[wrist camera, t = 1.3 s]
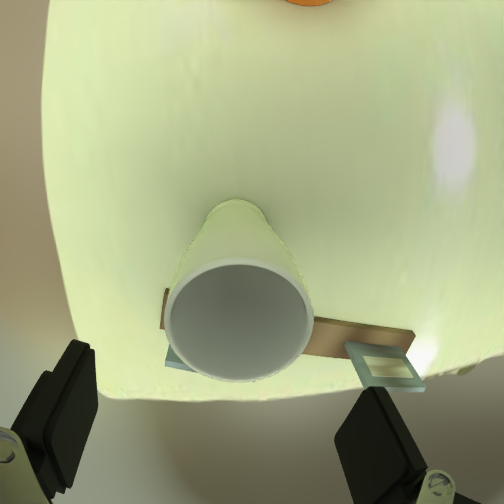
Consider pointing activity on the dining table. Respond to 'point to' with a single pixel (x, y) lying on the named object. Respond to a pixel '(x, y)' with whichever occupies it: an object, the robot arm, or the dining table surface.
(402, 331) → the stand
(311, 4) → the shaker bottle
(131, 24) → the dining table surface
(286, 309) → the drinking glass
